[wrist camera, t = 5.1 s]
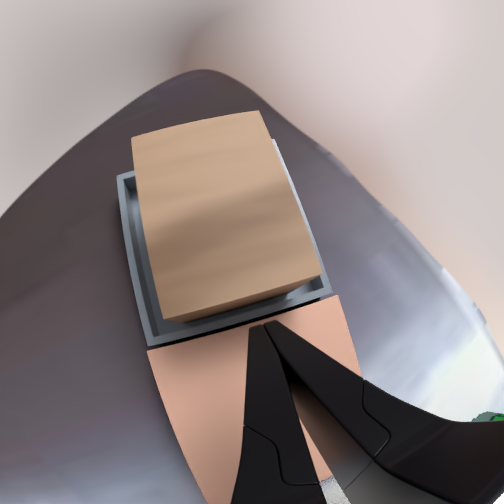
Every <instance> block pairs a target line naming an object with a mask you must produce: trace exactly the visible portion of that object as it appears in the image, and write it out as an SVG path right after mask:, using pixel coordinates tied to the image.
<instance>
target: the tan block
mask: <svg viewBox="0 0 504 504" xmlns="http://www.w3.org/2000/svg"><path fill="white" fill-rule="evenodd" d="M131 141H132V151H133V161H134V169H135V177H136V185H137V192H138V199H139V205H140V211H141V218H142V223H143V229H144V235H145V240H146V245H147V250H148V255H149V260H150V265H151V269H152V274H153V278H154V283H155V287H156V291H157V296H158V300H159V304H160V308H161V312H162V315H163V319H165V320H170V321H174V322H179V323H184V324H185V323H189V322H193V321H197V320H200V319H204V318H208V317H211V316H215V315H219V314H222V313H226V312H229V311H233V310H236V309H240V308H243V307H247V306H250V305H253V304H257V303H260V302H264V301H267V300H270V299H273V298H277V297H280V296H283V295H286V294H289V293H290V292H292V291H294V290H296V289H297V288H299V287H301V286H302V285H304V284H306V283H307V282H309V281H311V280H313V279H314V278H316V277H318V276H319V275H321V274H323V272H322V269H321V266H320V263H319V260H318V257H317V255H316V252H315V249H314V246H313V243H312V241H311V238H310V235H309V232H308V230H307V227H306V224H305V222H304V219H303V216H302V214H301V211H300V209H299V206H298V203H297V201H296V198H295V196H294V193H293V191H292V188H291V186H290V183H289V181H288V178H287V176H286V173H285V171H284V168H283V166H282V163H281V161H280V159H279V156H278V154H277V151H276V149H275V147H274V144H273V142H272V140H271V137H270V135H269V133H268V131H267V128H266V126H265V124H264V121H263V119H262V117H261V115H260V113H259V110H258V111H251V112H244V113H237V114H231V115H226V116H220V117H215V118H209V119H204V120H199V121H195V122H190V123H186V124H181V125H177V126H173V127H169V128H165V129H161V130H157V131H153V132H150V133H146V134H142V135H139V136H135V137H132V138H131Z"/></svg>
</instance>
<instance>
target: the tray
mask: <svg viewBox="0 0 504 504" xmlns="http://www.w3.org/2000/svg"><path fill="white" fill-rule="evenodd" d="M271 140H272V142H273V144H274V147H275V149H276V151H277V154H278V156H279V159H280V161H281V163H282V166H283V168H284V171H285V173H286V176H287V178H288V181H289V183H290V186H291V188H292V191H293V193H294V196H295V198H296V201H297V203H298V206H299V209H300V211H301V214H302V216H303V219H304V222H305V224H306V227H307V230H308V232H309V235H310V238H311V241H312V243H313V246H314V249H315V252H316V255H317V257H318V260H319V263H320V266H321V269H322V272H323V274H321V275H319V276H318V277H316V278H314V279H313V280H311V281H309V282H307V283H306V284H304V285H302V286H301V287H299V288H297V289H296V290H294V291H292V292H290V293H289V294H286V295H283V296H280V297H277V298H273V299H270V300H267V301H264V302H260V303H257V304H253V305H250V306H247V307H243V308H240V309H236V310H233V311H229V312H226V313H222V314H219V315H215V316H211V317H208V318H204V319H200V320H197V321H193V322H189V323H185V324H184V323H179V322H174V321H170V320H165V319H163V315H162V312H161V308H160V304H159V300H158V296H157V291H156V287H155V283H154V278H153V274H152V269H151V265H150V260H149V255H148V250H147V245H146V240H145V235H144V229H143V223H142V218H141V211H140V205H139V199H138V192H137V185H136V177H135V170H134V171H130V172H127V173H124V174H121V175H118V176H117V185H118V194H119V203H120V211H121V219H122V226H123V233H124V239H125V245H126V251H127V257H128V263H129V268H130V273H131V278H132V283H133V288H134V292H135V297H136V301H137V306H138V310H139V314H140V318H141V322H142V326H143V330H144V334H145V337H146V341H147V345H148V346H153V345H158V344H162V343H166V342H170V341H174V340H178V339H182V338H186V337H190V336H194V335H198V334H201V333H205V332H209V331H213V330H216V329H220V328H223V327H227V326H230V325H234V324H237V323H241V322H244V321H247V320H251V319H254V318H257V317H261V316H264V315H267V314H270V313H274V312H277V311H280V310H283V309H286V308H289V307H292V306H295V305H298V304H301V303H304V302H307V301H310V300H313V299H316V298H319V297H322V296H325V295H327V294H330V293H333V291H332V288H331V285H330V283H329V280H328V277H327V274H326V271H325V268H324V265H323V262H322V259H321V256H320V254H319V251H318V248H317V245H316V243H315V240H314V237H313V234H312V232H311V229H310V226H309V224H308V221H307V218H306V216H305V213H304V210H303V208H302V205H301V203H300V200H299V198H298V195H297V193H296V190H295V188H294V185H293V183H292V180H291V178H290V175H289V173H288V170H287V168H286V166H285V163H284V161H283V158H282V156H281V154H280V151H279V149H278V147H277V144H276V142H275V140H274V139H271Z"/></svg>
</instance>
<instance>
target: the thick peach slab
mask: <svg viewBox="0 0 504 504" xmlns="http://www.w3.org/2000/svg"><path fill="white" fill-rule="evenodd" d="M271 320H278V321H279V322H281V323H282V324H283V325H285V326H286V327H288V328H289V329H291V330H292V331H293V332H295V333H296V334H298V335H299V336H301V337H302V338H304V339H305V340H306V341H308V342H309V343H311V344H312V345H314V346H315V347H317V348H318V349H320V350H321V351H323V352H324V353H326V354H327V355H329V356H330V357H332V358H333V359H335V360H336V361H338V362H339V363H341V364H342V365H344V366H345V367H347V368H348V369H350V370H351V371H353V372H354V373H356V374H358V375H359V376H361V377H362V375H361V371H360V367H359V364H358V360H357V357H356V353H355V350H354V346H353V343H352V339H351V336H350V333H349V329H348V326H347V323H346V320H345V316H344V313H343V310H342V307H341V304H340V301H339V298H338V295H335V296H333V297H330V298H327V299H324V300H321V301H318V302H315V303H312V304H309V305H306V306H303V307H300V308H297V309H294V310H291V311H288V312H285V313H282V314H279V315H276V316H273V317H269V318H266V319H263V320H260V321H257V322H253V323H250V324H247V325H243V326H240V327H236V328H233V329H229V330H226V331H222V332H219V333H215V334H211V335H208V336H204V337H200V338H197V339H193V340H189V341H185V342H181V343H177V344H173V345H169V346H165V347H161V348H157V349H153V350H149V351H147V354H148V357H149V360H150V364H151V367H152V370H153V374H154V377H155V380H156V383H157V386H158V389H159V392H160V395H161V398H162V400H163V403H164V406H165V409H166V412H167V414H168V417H169V419H170V422H171V425H172V427H173V430H174V432H175V435H176V437H177V440H178V442H179V444H180V447H181V449H182V451H183V454H184V456H185V458H186V461H187V463H188V465H189V467H190V469H191V471H192V474H193V476H194V478H195V480H196V482H197V484H198V486H199V488H200V490H201V492H202V494H203V496H204V498H205V500H206V502H207V503H208V504H230V503H231V499H232V494H233V490H234V486H235V482H236V477H237V473H238V467H239V462H240V456H241V447H242V435H243V426H244V425H243V421H244V403H245V386H246V369H247V351H248V334H249V328H250V327H252V326H255V325H258V324H262V325H263V324H264V323H265V322H268V321H271ZM299 420H300V418H299ZM300 423H301V426H302V429H303V432H304V435H305V438H306V442H307V445H308V448H309V451H310V454H311V457H312V460H313V463H314V467H315V470H316V473H317V476H318V479H319V481H322V480H324V479H326V478H329V477H331V476H333V474H332V473H331V471H330V469H329V468H328V466H327V464H326V463H325V461H324V459H323V458H322V456H321V454H320V453H319V451H318V449H317V448H316V446H315V444H314V442H313V441H312V439H311V437H310V436H309V434H308V432H307V430H306V429H305V427H304V425H303V424H302V422H301V420H300Z"/></svg>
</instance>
